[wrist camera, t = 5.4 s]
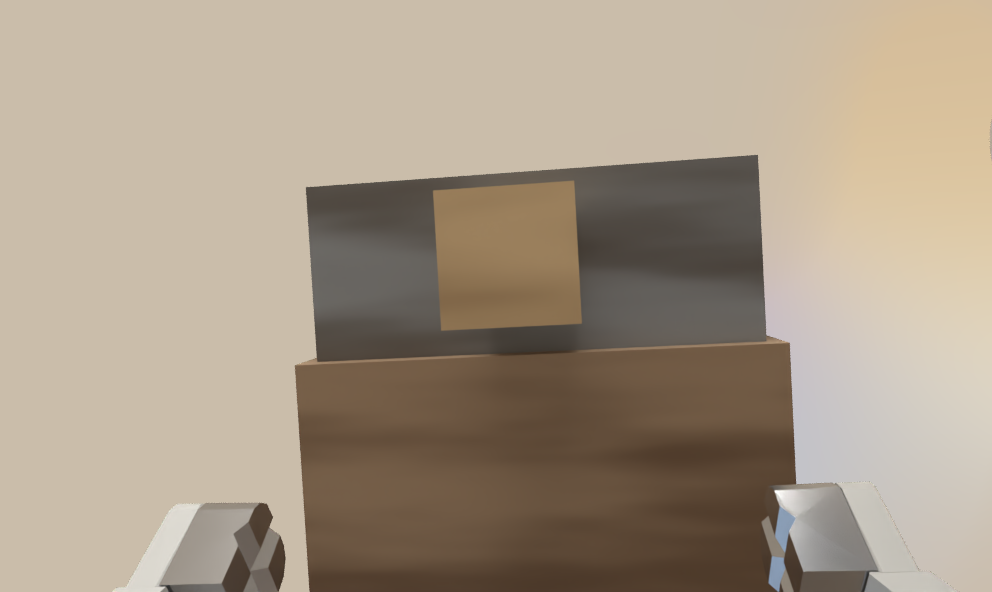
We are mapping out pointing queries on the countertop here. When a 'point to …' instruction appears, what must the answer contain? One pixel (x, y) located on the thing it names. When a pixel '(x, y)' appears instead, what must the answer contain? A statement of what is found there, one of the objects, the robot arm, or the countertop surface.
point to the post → (545, 469)
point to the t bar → (539, 261)
